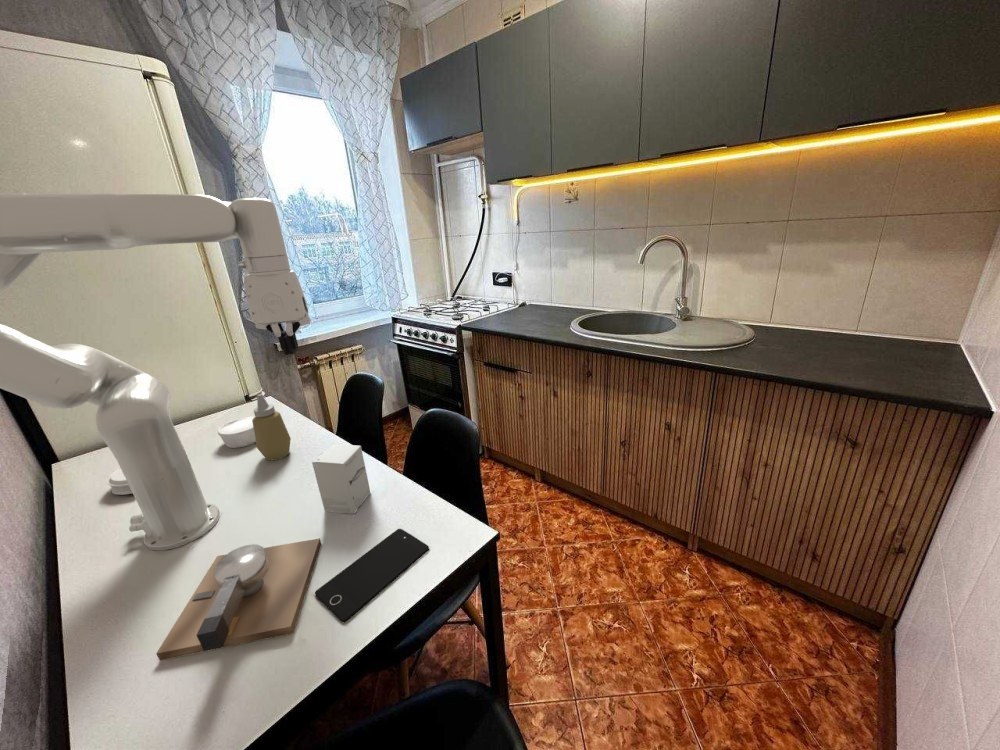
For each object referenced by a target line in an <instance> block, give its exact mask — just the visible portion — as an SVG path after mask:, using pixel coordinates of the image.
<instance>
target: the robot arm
mask: <svg viewBox="0 0 1000 750" xmlns="http://www.w3.org/2000/svg"><path fill="white" fill-rule="evenodd" d="M234 239H238V240H239V242H240V243H239V244H240V247H241V250H242V254H243V257H244V258H243V260H242V261H238V263H237V265H238V267H239V269H245V270H246V272H247V273H248V274H245V275H244V278H243V279H244V288H245V297H246V303H247V307H248V312H249V316H250V319H251V321H252V322H253V323H254V324H255V326H254V327H255V328H256V329H258V330H259V329H260V330H264V331H265V330H267V331H268V332H270V333H272V334H273V335H274V336H275V337H276V338H278V341H279V345H280V349H281V351H283V353H284V355H285V356H287V355H289V354H290V355H294V354H295V353H296V352H297V351H298V349H299V343H298V339H297V335H296V332H297V331H298V330H299V329H300V328H301V327H303V326H306V325H309V324H310V323H311V322H312V320H311V317H310V315H309V307H308V304H307V300H306V297H305V294H304V291H303V288H302V286H301V283H300V281H299V278H298V276H297V274H296V272H295V270H291V266H290V262H289V257H288V254H287V250H286V245H285V241H284V235H283V232H282V228H281V224H280V219H279V215H278V211H277V208H276V206H275V203H274V202H273V201H271V199H268V198H262V197H261V198H259V197H249V198H247V197H246V198H245V197H243V198H237V199H234V200H232V201H222V200H220V199H218V198H217V197H214V196H211V195H206V194H185V193H184V194H177V193H176V194H173V193H169V194H166V193H165V194H164V193H163V194H162V193H161V194H160V193H159V194H158V193H154V194H153V193H150V194H149V193H148V194H146V193H143V194H142V193H140V194H136V193H135V194H128V193H127V194H121V193H119V194H117V193H116V194H115V193H65V192H64V193H59V192H58V193H57V192H56V193H53V192H52V193H49V192H48V193H47V192H46V193H44V192H35V193H33V192H0V296H1V295H2V294H3V293H5V291H6V290H7V289H9V288H10V286H11V285H12V284H14V283H15V282H16V280H17V279H18V278H19V277H20V276H22V274H23V273H24V272H25V271H27V269H28V268H30V267H31V266H32V265H33V264H34V263H35V261H36V260H37V259H38V258H39V257H40V256H41V255H42V254H46V253H48V254H49V253H66V252H84V251H85V252H87V251H90V252H91V251H93V252H94V251H110V250H111V251H113V250H126V249H131V248H135V247H141V246H142V247H143V246H155V245H174V244H178V245H179V244H195V243H197V244H199V243H202V244H203V243H204V244H205V243H221V242H224V241H228V240H234ZM283 324H285V327H286V328H284V325H283ZM0 389H1V390H3V391H6V392H9V393H12V394H13V395H16V396H19V397H21V398H24V399H26V400H28V401H31V402H34V403H36V404H39V405H40V406H43V407H47V408H52V409H61V410H63V409H64V410H65V409H66V410H67V409H72V408H75V407H79V406H82V405H84V404H85V403H90V404H92V405H94V406H97V411H96V415H95V424H96V428H97V431H98V433H99V435H100V437H101V438H102V440H103V442H104V443H105V445H106V446H107V448H109V450H110V451H111V453H112V454H113V457H114V458H115V460H116V462H117V464H118V466H119V468H121V470H122V472H123V474H124V476H125V478H126V480H127V482H128V484H129V486H130V488H131V490H132V492H133V493H132V494H133V496H134V498H135V500H136V503H137V505H138V507H139V509H140V512H141V513H142V514H138V515H137V514H136V515H132V516H131V517H130V520H129V523H130V526H129V532H138V531H144V537H143V543H144V545H145V547H146V548H147V549H149V550H152V551H167V550H171V549H175V548H179V547H181V546H184V545H186V544H188V543H191V542H193V541H195V540H197V539H198V538H200V537H201V536H203V535H205V534H206V533H207V532H208V531H210V530H211V529H212V528H214V526H215V525H216V524H217V522H218V521H219V519H220V516H221V513H220V509H219V508H218V506H216V504H213V503H207V502H206V500H205V497H204V494H203V492H202V489H201V487H200V485H199V481H198V480H197V477H196V475H195V471H194V469H193V467H192V464H191V462H190V459H189V457H188V455H187V453H186V450H185V447H184V445H183V442H182V440H181V438H180V435H179V434H178V432H177V430H176V427H175V425H174V423H173V421H172V419H171V414H170V405H171V394H170V391H169V389H168V387H167V386H166V384H165V383H163V382H162V381H161V380H159V379H158V378H156V377H154V376H153V375H151V374H149V373H147V372H145V371H143V370H141V369H139V368H136V367H134V366H133V365H131V364H128V363H127V362H126V361H125V362H124V361H122V360H121V359H119V358H117V357H115V356H113V355H112V354H111V355H110V354H108V353H106V352H104V351H102V350H100V349H97V348H95V347H92V346H88V345H85V344H79V343H60V344H55V345H49V344H47V343H44V342H42V341H40V340H37V339H36V338H33V337H31V336H29V335H27V334H25V333H23V332H21V331H20V330H17V329H14V328H12V327H10V326H8V325H5V324H1V323H0Z"/></svg>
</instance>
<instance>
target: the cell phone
mask: <svg viewBox="0 0 1000 750" xmlns="http://www.w3.org/2000/svg"><path fill="white" fill-rule="evenodd" d="M429 550H430V546H429V545H428V544H426V543H425V542H423V541H421V540H420V539H418V538H417V537H415V536H414V535H412V534H410V533H408V532H407V531H405V530H404V529H403V528H397V529H396V530H394V531H393V532H391V534H389V535H388V536H386V537H385V538H384V539H382V540H381V541H380V542H378V543H377V544H376V545H374V546H373V547H372V548H370V550H367V552H365V553H364V554H363V555H361V556H360V557H359V558H357V559H356V560H355V561H353V562H352V563H351V564H349V565H348V566H347V567H345V568H344V569H343V570H341V571H340V572H338V574H336V575H334V577H332V578H331V579H329V580H328V581H327V582H326V583H324V584H323V585H322V586H320V587H319V588H318V589H316V590H315V591H314V595H315V597H316V599H317V600H318V601H320V603H322V605H324V606H325V608H326V609H328V611H330V612H331V613H332V614H333V615H334V616H335V617H336V619H338V620H339V621H340V622H341V623H343V624H345V623H347V622H349V620H350V619H352V618H354V616H355V615H357V614H358V613H359V612H360V611H361V610H362V609H363V608H364V607H365V606H366V605H368V604H369V603H370V602H371V601H372V600H373V599H375V598H376V597H377V596H379V594H381V592H383V591H384V590H385V589H386V588H387V587H389V586H390V585H391V584H392V583H393V582H394V581H396V580H397V579H398V578H399V577H400V576H401V575H403V573H405V572H406V571H407V570H408V569H410V567H412V565H414V564H415V563H417V561H419V560H420V559H421V558H422V557H423V556H424V555H425V554H427V553H428V552H429Z"/></svg>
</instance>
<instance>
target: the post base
mask: <svg viewBox="0 0 1000 750" xmlns="http://www.w3.org/2000/svg"><path fill="white" fill-rule="evenodd" d="M321 547H322V542H321V538H320V537H319V538H314V539H308V540H303V541H297V542H291V543H285V544H279V545H273V546H269V547H263V548H264V551H265V554H266V556H267V559H268V562H269V570H268V572H267V574H266V575H265V576H264V577H263V579H262V580H260V581H259V582H258V583H257V584H255V585H254V586H252V587H251V588H249V589H247V590H245V591H244V594H243V596H242V599H241V601H240V603H239V606H238V608H237V611H236V613H235V615H234V618H233V620H232V623H231V625H230V628H229V633H228V635H227V638H226V640H225V642H224V645H223V647H221V648H217V649H216V650H218V649H223V648H229V647H233V646H238V645H244V644H248V643H253V642H257V641H262V640H268V639H271V638H272V639H273V638H277V637H282V636H287V635H291V634H294V633H295V629H296V626H297V622H298V620H299V617H300V613H301V610H302V606H303V605H304V604H303V603H304V602H305V601H304V600H305V596H306V594H307V592H308V589H309V585H310V581H311V579H312V575H313V572H314V569H315V566H316V563H317V560H318V558H319V553H320V551H321V549H322V548H321ZM227 554H228V553H227ZM227 554H221V555H217V556H216V557H215V559H214V560H213V562H212V563H211V565H210V567H209V568H208V570H207V571H206V573H205V575H204V577H203V578H202V580H201V581H200V582H199V584H198V586H197V587H196V589H195V591H194V593H193V594H192V595H191V597H190V599H189V600H188V602H187V604H186V605H185V607H184V609H183V610H182V612H181V613H180V615H179V617H178V618H177V620H176V621H175V623H174V624H173V626H172V627H171V629H170V631H169V632H168V634H167V636H166V637H165V638H164V641H162V643H161V645H160V646H159V649H158V650H157V651H156V656H157V657H158V658H157V659H158V660H159V661H165V660H171V659H175V658H179V657H180V658H181V657H185V656H189V655H190V656H191V655H194V654H201V653H203V652H204V650H203V648H202V646H201V644H200V642H199V640H198V638H197V636H196V635H197V633H198V631H199V629H200V627H201V625H202V623H203V621H204V619H206V617H207V615H208V613H209V611H210V609H211V607H212V605H213V603H214V601H215V598H216V596H217V594H218V592H219V590H220V587H219V584H218V582H217V580H216V577H215V575H214V569H215V566H216V565H217V563H218V562H219V561H220V560H221V559H222V558H223V557H224V556H225V555H227ZM214 650H215V649H213V650H212V651H214ZM209 651H211V650H209ZM204 653H205V652H204Z"/></svg>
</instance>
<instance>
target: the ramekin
mask: <svg viewBox="0 0 1000 750" xmlns="http://www.w3.org/2000/svg"><path fill="white" fill-rule="evenodd" d="M254 417H255V416H246V417H241V418H240V417H239V418H236V419H234V420H230V421H228V422H226V423H224V424H223V425H220V427H219V428H218V429H217V434H218V436H220V438H221V440H222V442H223V443H224V445H225V446H226V447H229V448H231V449H237V448H243V447H247V446H250V445H252V444H255V443H256V438H255V433H254V428H253V422H252V420H253V418H254Z"/></svg>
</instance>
